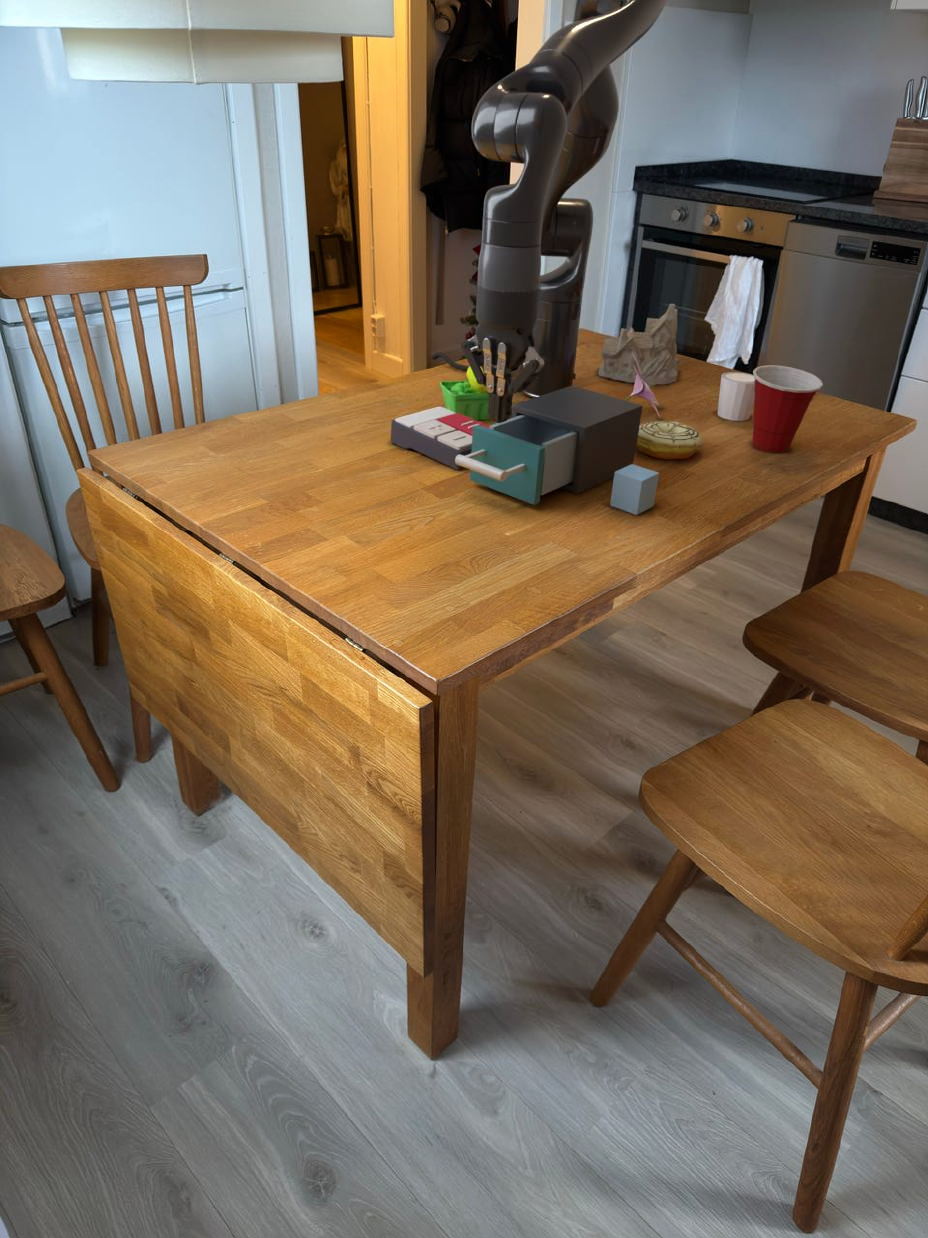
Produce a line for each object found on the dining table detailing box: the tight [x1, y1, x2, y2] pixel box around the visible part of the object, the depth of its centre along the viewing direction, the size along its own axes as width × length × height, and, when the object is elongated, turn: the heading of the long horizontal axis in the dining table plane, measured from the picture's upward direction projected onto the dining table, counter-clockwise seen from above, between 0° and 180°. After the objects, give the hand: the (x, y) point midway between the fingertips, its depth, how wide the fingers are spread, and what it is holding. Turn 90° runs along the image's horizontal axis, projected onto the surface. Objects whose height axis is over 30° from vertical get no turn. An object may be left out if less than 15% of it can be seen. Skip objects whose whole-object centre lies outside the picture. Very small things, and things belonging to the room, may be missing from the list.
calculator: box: [390, 406, 490, 471], centre depth 139 cm, size 11×4×15 cm
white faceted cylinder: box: [717, 371, 755, 422], centre depth 159 cm, size 7×7×7 cm
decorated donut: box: [636, 420, 704, 461], centre depth 143 cm, size 10×11×4 cm
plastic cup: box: [752, 364, 824, 453], centre depth 145 cm, size 11×11×12 cm
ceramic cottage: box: [598, 303, 680, 386], centre depth 178 cm, size 16×16×15 cm
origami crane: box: [624, 353, 661, 418], centre depth 158 cm, size 12×12×10 cm
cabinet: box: [511, 384, 643, 495], centre depth 133 cm, size 15×13×10 cm
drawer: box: [455, 414, 580, 506], centre depth 125 cm, size 19×12×8 cm, turn 138°
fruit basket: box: [439, 365, 515, 421], centre depth 151 cm, size 11×9×11 cm
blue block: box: [609, 463, 660, 516], centre depth 123 cm, size 4×4×5 cm
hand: (498, 420), depth 117 cm, fingers closed
